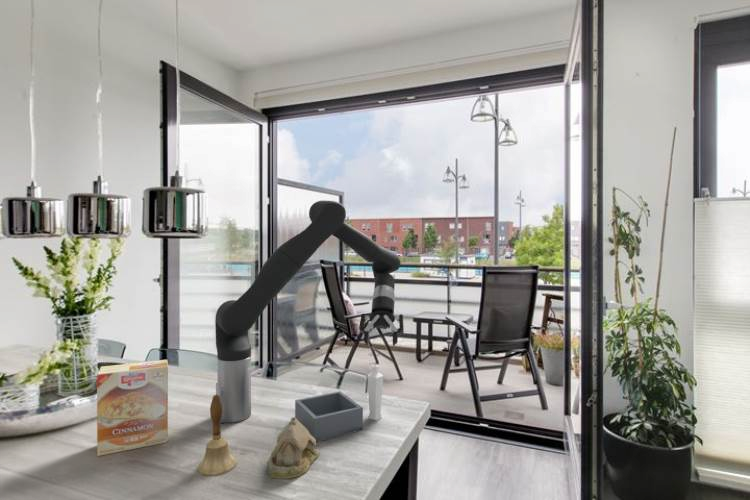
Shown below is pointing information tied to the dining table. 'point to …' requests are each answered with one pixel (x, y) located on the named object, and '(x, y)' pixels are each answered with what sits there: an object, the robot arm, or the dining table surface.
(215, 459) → the hand bell
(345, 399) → the tote
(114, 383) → the coffeecake box
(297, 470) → the ceramic model
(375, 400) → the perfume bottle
